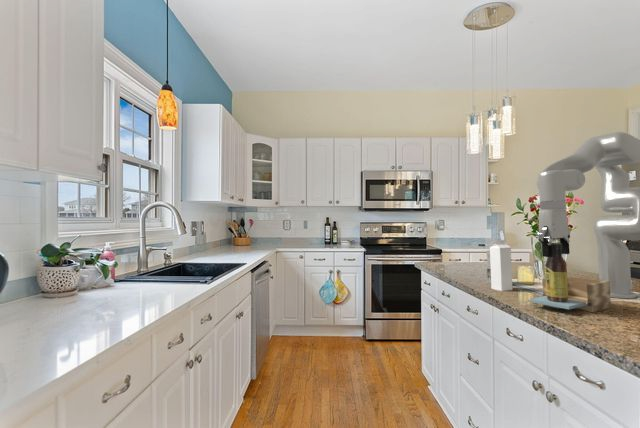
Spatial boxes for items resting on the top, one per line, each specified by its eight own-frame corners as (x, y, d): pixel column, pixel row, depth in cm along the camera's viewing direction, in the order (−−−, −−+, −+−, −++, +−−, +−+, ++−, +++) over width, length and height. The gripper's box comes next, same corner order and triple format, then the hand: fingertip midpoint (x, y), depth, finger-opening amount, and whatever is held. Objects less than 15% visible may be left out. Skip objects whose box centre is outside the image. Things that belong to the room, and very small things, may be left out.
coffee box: (498, 285, 159) (497, 251, 159) (487, 283, 165) (485, 250, 165) (512, 283, 162) (510, 250, 163) (500, 281, 168) (498, 249, 169)
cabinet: (562, 298, 131) (561, 275, 131) (610, 307, 117) (609, 281, 117) (542, 302, 126) (541, 278, 126) (591, 312, 112) (590, 285, 112)
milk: (512, 290, 149) (511, 240, 149) (501, 291, 147) (500, 240, 147) (501, 287, 154) (500, 239, 155) (490, 288, 153) (489, 240, 153)
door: (547, 300, 124) (547, 295, 124) (586, 307, 113) (585, 302, 113) (530, 304, 120) (530, 298, 120) (569, 312, 109) (568, 306, 109)
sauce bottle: (547, 297, 121) (545, 242, 121) (569, 299, 117) (566, 242, 117) (545, 301, 116) (542, 243, 116) (567, 303, 112) (565, 243, 112)
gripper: (556, 205, 124) (559, 252, 124) (526, 207, 117) (529, 257, 117) (579, 204, 118) (582, 253, 118) (549, 206, 110) (553, 259, 110)
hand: (556, 255), depth 117 cm, fingers open, 9 cm apart
